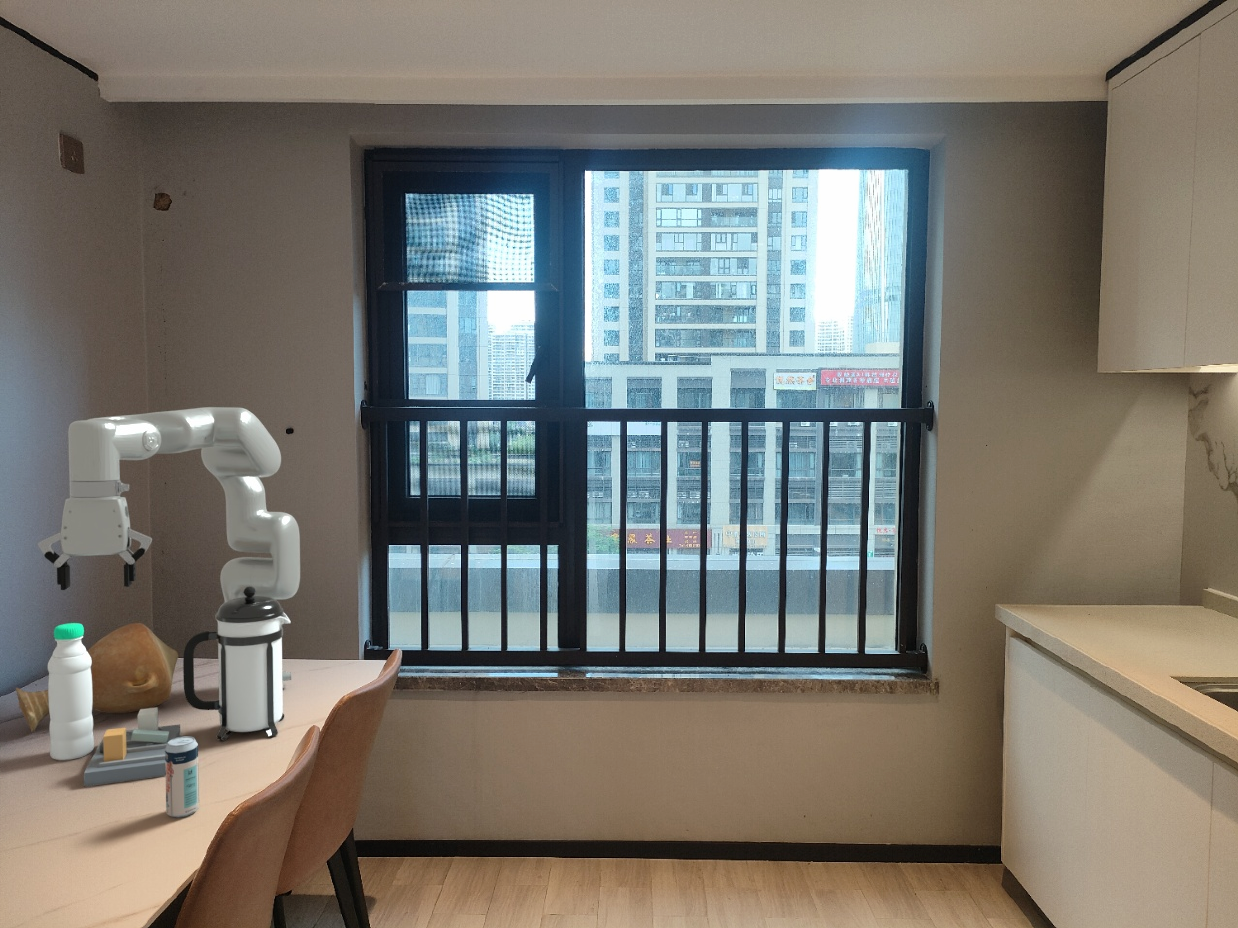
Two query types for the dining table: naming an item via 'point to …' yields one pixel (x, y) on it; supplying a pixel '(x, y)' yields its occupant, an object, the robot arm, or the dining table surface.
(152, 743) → the panel
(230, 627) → the coffee press
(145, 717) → the ivory fader
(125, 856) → the dining table surface
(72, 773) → the dining table surface
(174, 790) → the beer can
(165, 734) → the block
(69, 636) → the water bottle
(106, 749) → the orange fader
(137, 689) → the jug
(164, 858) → the dining table surface
